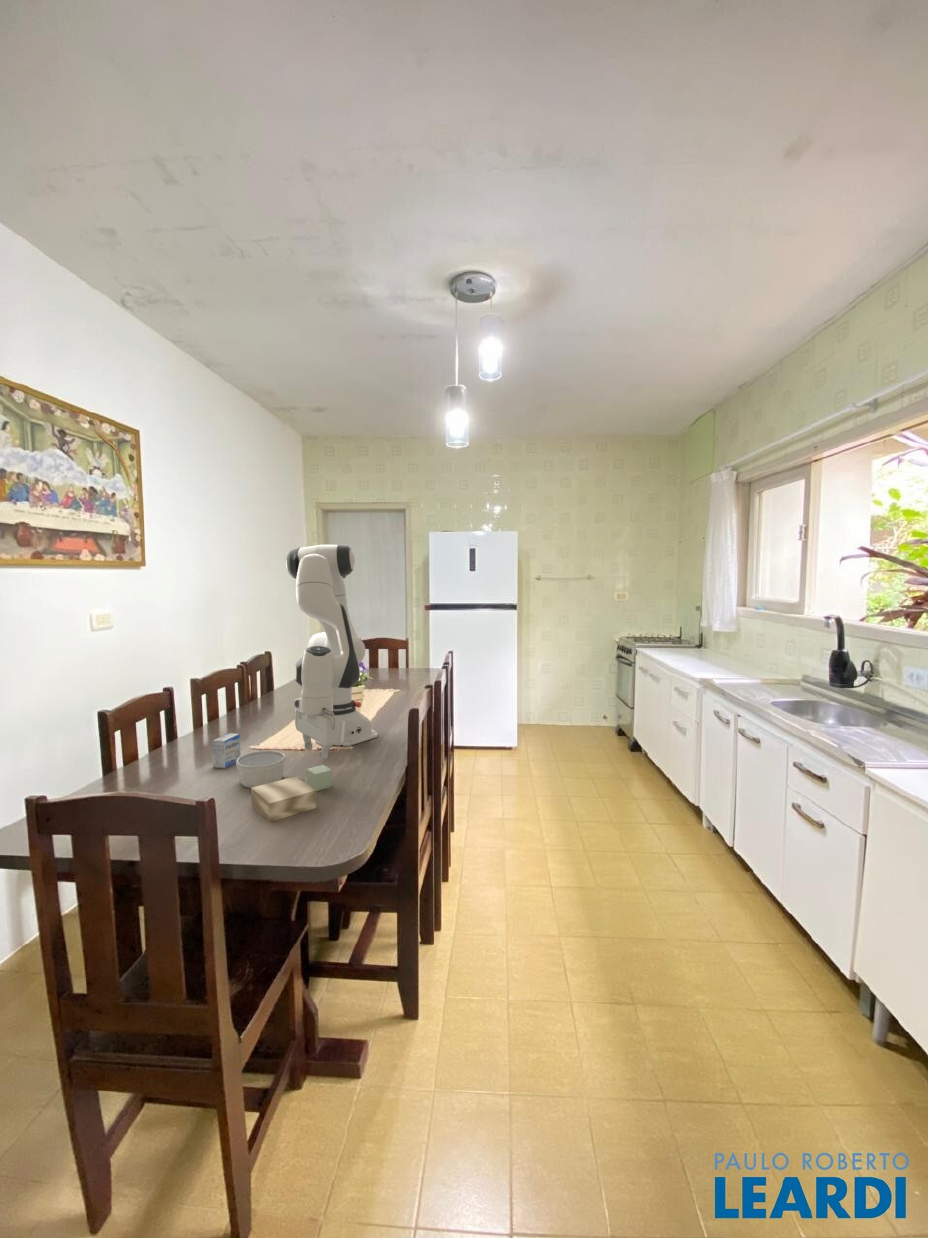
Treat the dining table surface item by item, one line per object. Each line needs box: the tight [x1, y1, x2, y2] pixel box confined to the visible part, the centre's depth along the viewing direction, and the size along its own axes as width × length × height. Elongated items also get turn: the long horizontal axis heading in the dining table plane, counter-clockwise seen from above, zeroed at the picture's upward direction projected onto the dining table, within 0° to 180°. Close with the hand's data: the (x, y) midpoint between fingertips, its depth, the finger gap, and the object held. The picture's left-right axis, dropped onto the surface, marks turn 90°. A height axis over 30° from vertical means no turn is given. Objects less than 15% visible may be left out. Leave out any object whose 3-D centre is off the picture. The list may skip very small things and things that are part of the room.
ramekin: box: [235, 749, 286, 789], centre depth 149 cm, size 13×13×7 cm
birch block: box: [250, 775, 317, 823], centre depth 133 cm, size 12×12×5 cm
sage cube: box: [306, 764, 332, 792], centre depth 147 cm, size 5×5×5 cm
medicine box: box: [211, 732, 241, 769], centre depth 162 cm, size 8×4×9 cm, turn 168°
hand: (315, 753), depth 145 cm, fingers open, 8 cm apart
